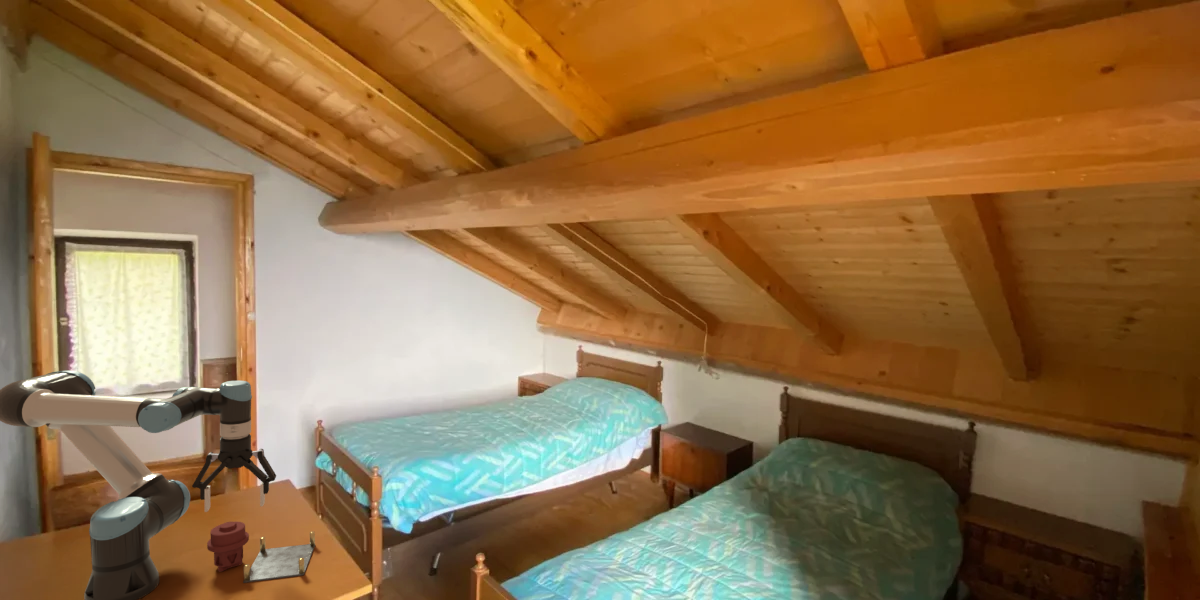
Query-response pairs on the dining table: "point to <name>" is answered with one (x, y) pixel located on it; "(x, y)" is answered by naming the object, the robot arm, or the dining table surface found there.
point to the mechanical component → (228, 544)
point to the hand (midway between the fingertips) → (235, 507)
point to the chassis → (279, 561)
